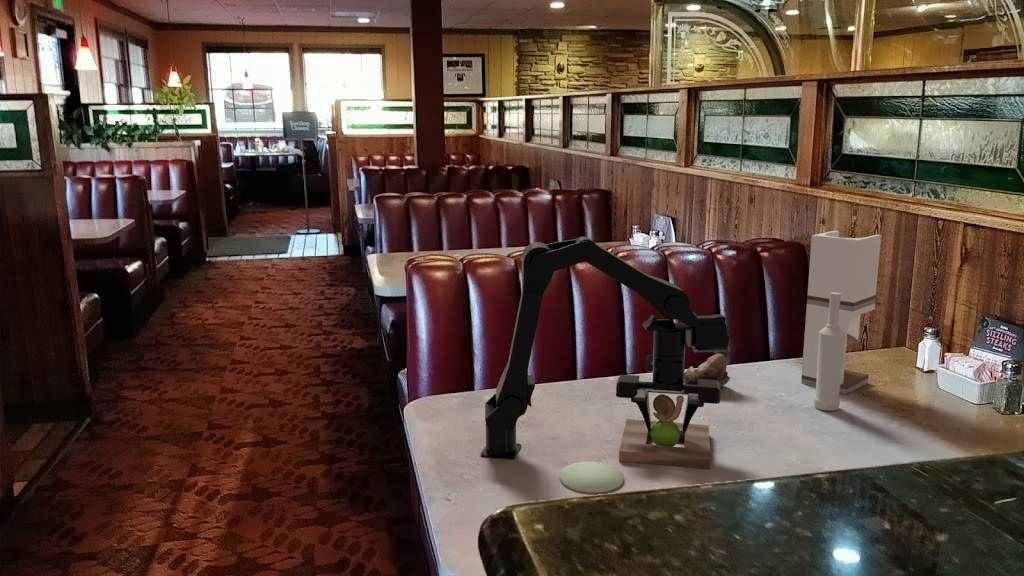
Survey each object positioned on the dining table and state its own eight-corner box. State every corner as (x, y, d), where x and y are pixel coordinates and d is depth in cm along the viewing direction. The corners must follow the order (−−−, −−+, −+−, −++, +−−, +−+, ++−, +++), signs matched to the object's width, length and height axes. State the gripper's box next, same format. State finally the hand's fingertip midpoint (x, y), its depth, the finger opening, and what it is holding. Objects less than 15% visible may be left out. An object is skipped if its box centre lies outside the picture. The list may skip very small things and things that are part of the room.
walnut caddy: (709, 469, 138) (710, 458, 138) (618, 461, 142) (619, 450, 141) (708, 434, 153) (708, 425, 153) (626, 428, 157) (626, 418, 156)
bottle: (835, 403, 170) (844, 290, 165) (842, 411, 165) (852, 296, 160) (810, 402, 171) (819, 290, 166) (817, 410, 166) (826, 295, 160)
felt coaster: (620, 495, 128) (620, 492, 128) (554, 489, 131) (554, 486, 131) (626, 467, 139) (626, 464, 139) (564, 462, 141) (564, 459, 141)
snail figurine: (677, 456, 143) (677, 395, 140) (645, 449, 147) (645, 389, 144) (689, 446, 147) (689, 386, 145) (658, 438, 151) (658, 380, 148)
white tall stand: (845, 394, 176) (858, 240, 168) (801, 383, 183) (811, 235, 176) (867, 383, 183) (881, 234, 176) (824, 372, 191) (835, 230, 184)
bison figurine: (691, 397, 175) (693, 353, 173) (673, 387, 181) (675, 345, 179) (735, 390, 179) (737, 347, 177) (716, 381, 186) (718, 340, 183)
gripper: (720, 343, 149) (716, 420, 152) (621, 338, 153) (620, 413, 157) (721, 359, 139) (718, 442, 142) (616, 354, 143) (615, 434, 146)
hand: (666, 432), depth 147 cm, fingers closed on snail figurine, 6 cm apart
